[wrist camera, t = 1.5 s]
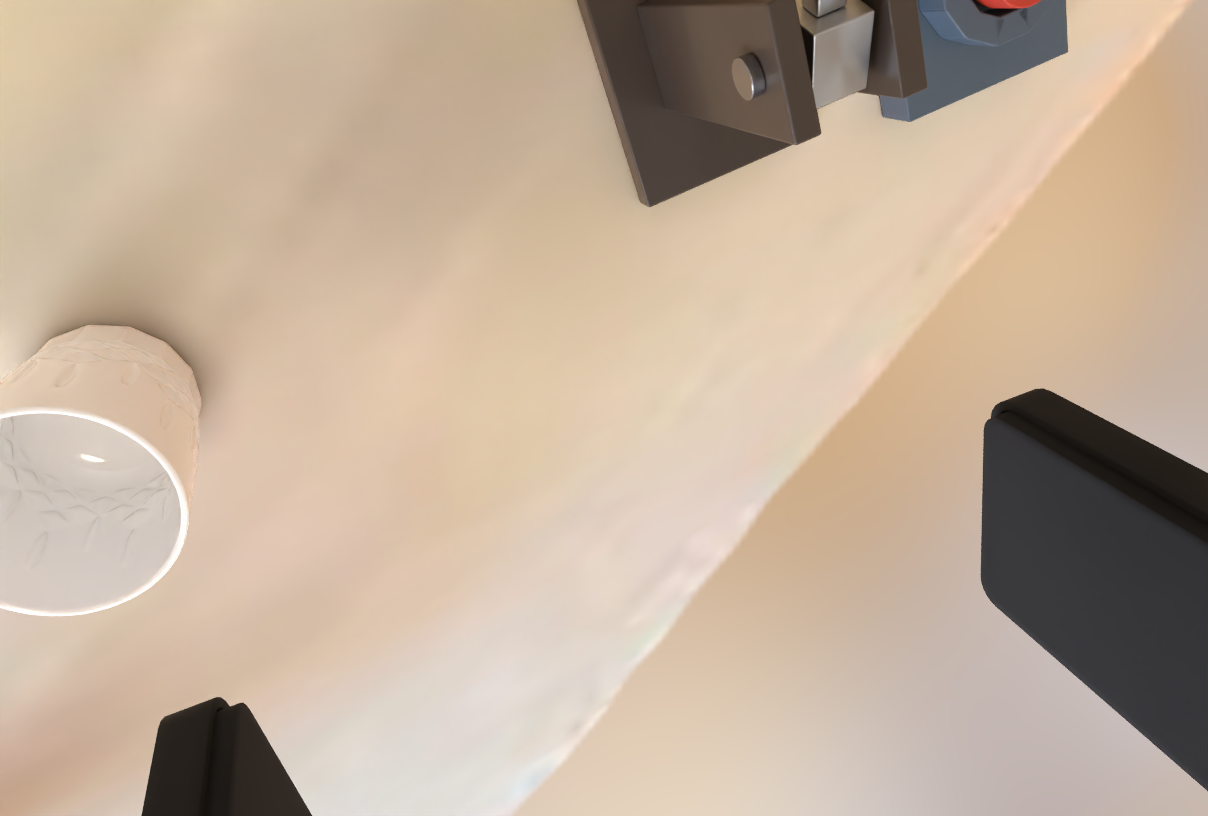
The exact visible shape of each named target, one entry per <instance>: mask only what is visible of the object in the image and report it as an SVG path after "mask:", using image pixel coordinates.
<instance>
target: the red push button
mask: <svg viewBox="0 0 1208 816" xmlns="http://www.w3.org/2000/svg"><path fill="white" fill-rule="evenodd" d="M977 1H978V2H979V3H980V4H981V5H983V6H985V7H988V8H1027V7H1030V6H1033V5H1035V4H1037V3H1038V2H1040V1H1041V0H977Z"/></svg>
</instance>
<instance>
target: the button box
mask: <svg viewBox="0 0 1208 816" xmlns="http://www.w3.org/2000/svg"><path fill="white" fill-rule="evenodd" d="M917 8H918V16H919V23H920V31H921V39H922V47H923V55H924V63H925V70H926V78H927V86H928V87H927V89H925V90H922V91H920V92H918V93H915V94H913V95H911V96H909V97H906V98H904V99H900V98H893V97H886V96H880V102H881V108H882V115H883V117H885V118H891V119H896V120H902V121H907V122H911V121H913V120H915V119H918V118H920V117H922V116H924V115H927V114H929V113H931V112H933V111H936V110H938V109H940V108H942V107H945V106H947V105H949V104H952V103H954V102H956V101H958V100H961V99H963V98H965V97H967V96H970V95H972V94H974V93H976V92H979V91H981V90H983V89H985V88H988V87H990V86H992V85H995V84H997V83H999V82H1001V81H1004V80H1006V79H1008V78H1010V77H1013V76H1015V75H1017V74H1019V73H1022V72H1024V71H1026V70H1028V69H1031V68H1033V67H1035V66H1038V65H1040V64H1042V63H1044V62H1047V61H1049V60H1051V59H1053V58H1056V57H1058V56H1060V55H1062V54H1065V53H1067V52H1068V42H1067V20H1066V0H1041V1H1040V2H1038V3H1037V4H1035V5H1033V6H1030V7H1027V8H988V7H985V6H983V5H981V4H980V3H979V2H978V1H977V0H917Z"/></svg>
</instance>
